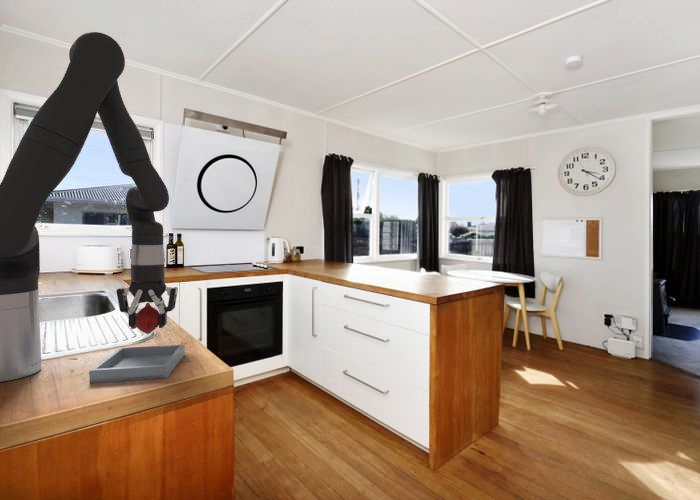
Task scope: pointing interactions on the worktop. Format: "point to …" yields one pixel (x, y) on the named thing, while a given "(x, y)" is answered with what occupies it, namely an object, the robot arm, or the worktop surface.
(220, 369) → the worktop surface
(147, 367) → the tray
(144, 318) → the onion
